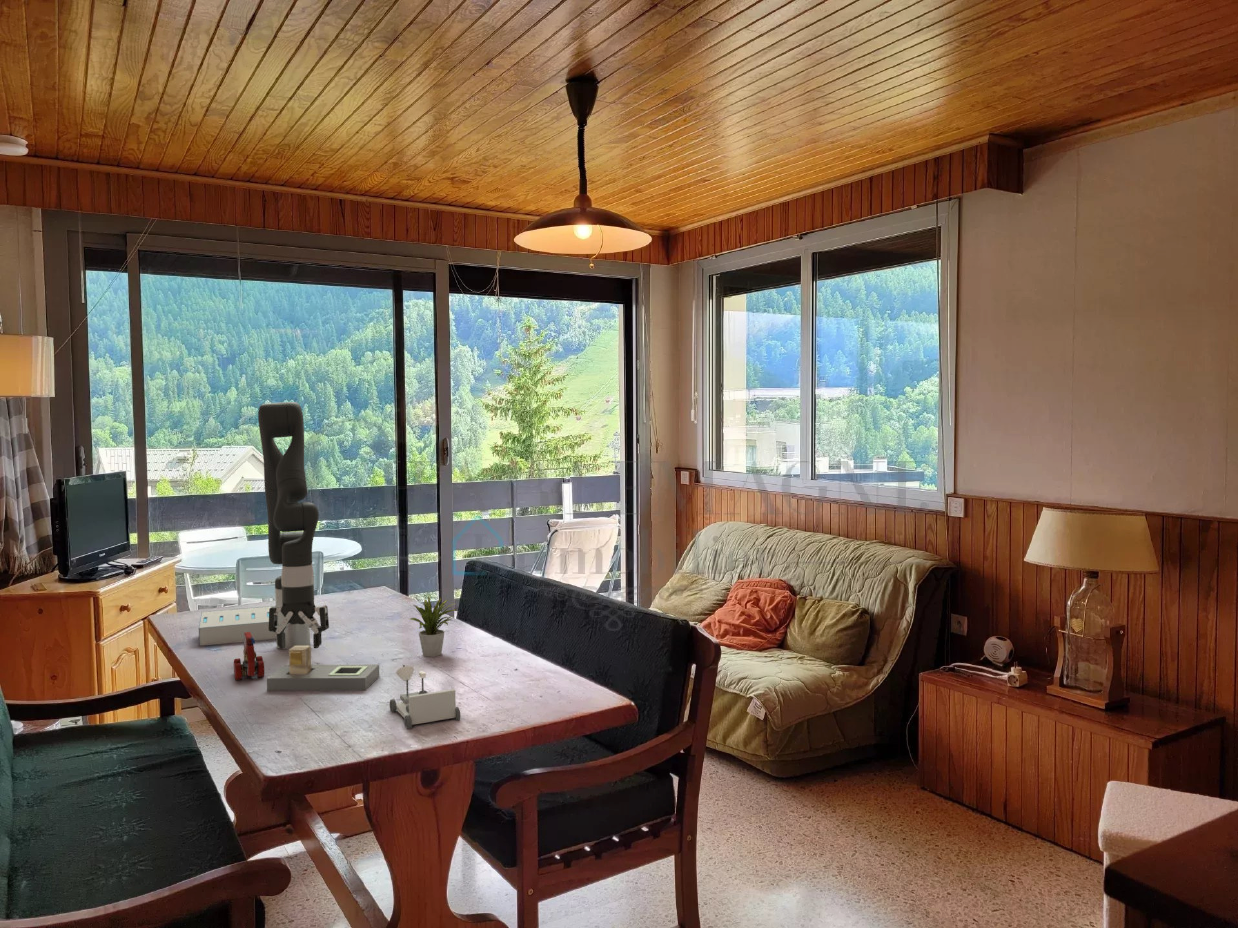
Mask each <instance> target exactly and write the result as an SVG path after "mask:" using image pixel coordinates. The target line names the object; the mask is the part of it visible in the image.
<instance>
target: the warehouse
mask: <svg viewBox="0 0 1238 928" xmlns="http://www.w3.org/2000/svg"><path fill="white" fill-rule="evenodd" d="M273 606H274V605H271V606H270V605H268V606H257V607H256V606H255V607H246V608H242V607H241V608H231V609H220V610H219V609H218V610H206V611H200V616H199V625H198V646H209V645H210V646H211V645H220V644H230V643H244V633H245V632H250V633H251V635H252V637H253V638H254V640H255V641H262V640H266V641H267V640H274V639H275V640H276V633H275V632H273V631H269V609H270V608H271V607H273Z"/></svg>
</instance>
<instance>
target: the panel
mask: <svg viewBox="0 0 1238 928" xmlns="http://www.w3.org/2000/svg"><path fill="white" fill-rule="evenodd" d="M379 677H380V664H311V672H310V673H309V674H289V664H285V665H283V666H282V667H280V668H279V669H278V670H277V671H275V672H274V673H272V674H271V675H269V676H268V677H266V691H366V690H367V689H369V687H370V686H372V684H373V683H375V681H376V680H377V679H379Z"/></svg>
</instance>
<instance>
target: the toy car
mask: <svg viewBox="0 0 1238 928" xmlns="http://www.w3.org/2000/svg"><path fill="white" fill-rule="evenodd" d="M414 669H415V668H414V667H413V666H412V665H405V664H402V667H399V668H398V669H397V670H396V672H395V673H396V675H397V676H398V677H399V678H400V679H401V680H403V682H404V681H405V682H406V683H405V684H406V685H405V686H406V687H405V688H406V693H403V694H400V695H399V696H400V697H399V699H400V700H401V701H402V702H396V699H395V698H393V699H390V700H389V711H390V712H391V713H396V712H398V713H399V714H400V716H402V718H403V720H404V726H405V728H406V729H407V730H412V728H413V725H419V724H425V723H431V722H437V721H442V720H443V721H444V720H449V719H454V720H455V721H461V710H460V708H459V707H458V706H457V705H456V703H457V702H456V689H454V688H452V689H445V690H438V691H434V692H428V691H426V690H425V689H424V683H425V682H424V679H425V678H427V673H426V672H425V671H424V670H421V671H419V672H418V676H419V678H421V690H420V691H417V692H409V681H410V680H411V678H412V676H413V673H414Z"/></svg>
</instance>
